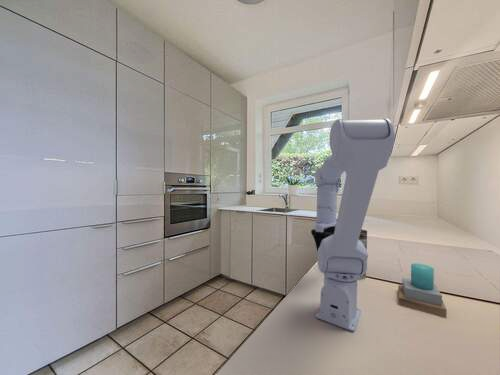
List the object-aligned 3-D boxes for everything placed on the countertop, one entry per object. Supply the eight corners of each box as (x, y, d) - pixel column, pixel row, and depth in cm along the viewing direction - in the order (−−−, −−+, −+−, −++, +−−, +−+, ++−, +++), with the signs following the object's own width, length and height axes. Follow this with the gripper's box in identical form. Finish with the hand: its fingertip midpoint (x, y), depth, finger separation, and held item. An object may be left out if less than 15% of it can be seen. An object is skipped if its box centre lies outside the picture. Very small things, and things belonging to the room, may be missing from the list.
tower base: (446, 320, 49) (446, 309, 49) (398, 307, 54) (399, 297, 54) (439, 303, 56) (439, 293, 56) (398, 292, 61) (398, 284, 61)
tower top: (441, 306, 50) (442, 295, 50) (405, 297, 54) (405, 287, 54) (434, 293, 56) (434, 284, 56) (402, 286, 60) (402, 277, 60)
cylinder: (434, 292, 52) (435, 271, 52) (411, 286, 54) (411, 267, 54) (432, 284, 56) (432, 266, 56) (410, 280, 58) (410, 262, 58)
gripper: (334, 210, 56) (333, 261, 56) (345, 206, 68) (344, 248, 68) (308, 208, 60) (307, 255, 60) (323, 205, 72) (322, 244, 72)
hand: (325, 251), depth 64 cm, fingers open, 7 cm apart
